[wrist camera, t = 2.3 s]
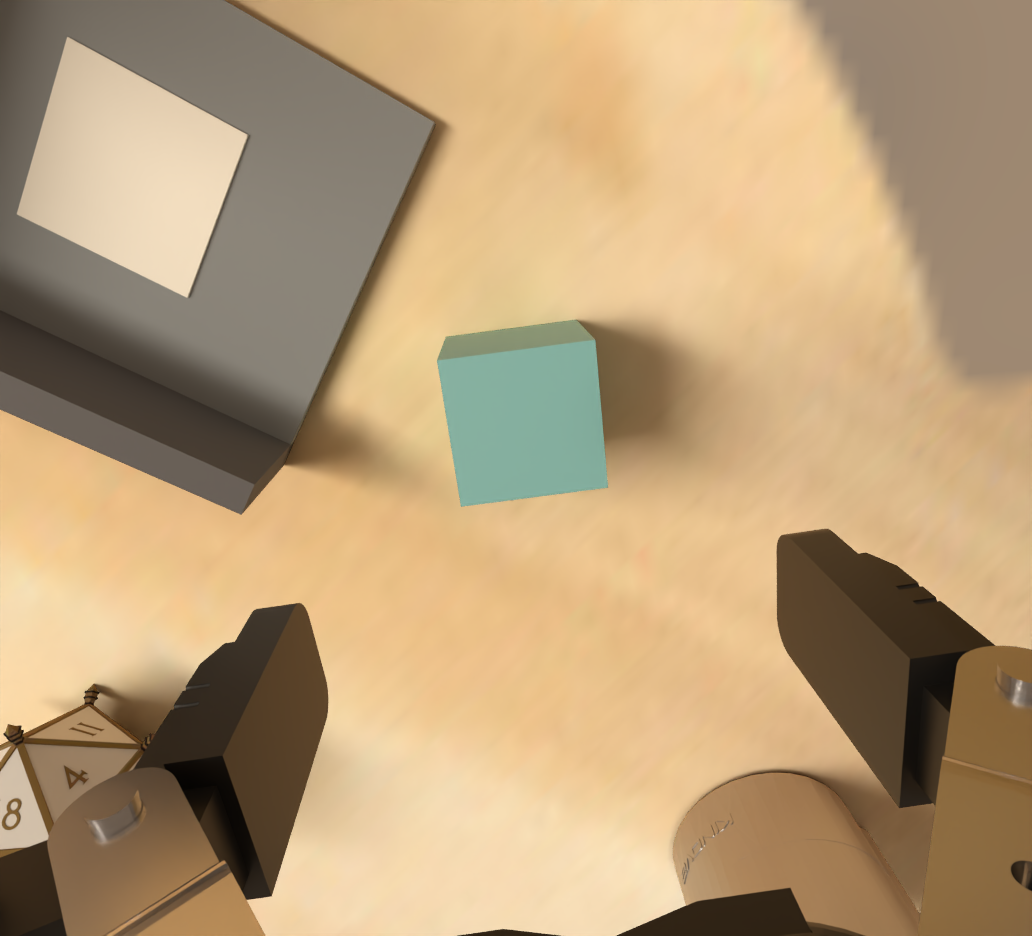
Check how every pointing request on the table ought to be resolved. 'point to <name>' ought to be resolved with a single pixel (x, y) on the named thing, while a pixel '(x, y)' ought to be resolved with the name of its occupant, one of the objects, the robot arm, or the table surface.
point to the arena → (183, 230)
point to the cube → (523, 412)
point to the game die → (58, 769)
